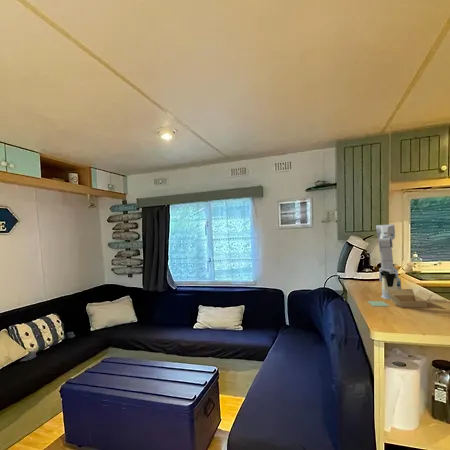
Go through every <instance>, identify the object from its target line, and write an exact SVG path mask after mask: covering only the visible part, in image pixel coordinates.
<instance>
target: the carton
mask: <svg viewBox="0 0 450 450" xmlns="http://www.w3.org/2000/svg"><path fill="white" fill-rule="evenodd" d="M384 291H385V290H384ZM386 292H387V291H386ZM414 292H415V291H414V290H413V288H401V289H397V290H389V292H387V293H388V294H389V295H390V296H391V299H390V302H391V303H393V304H394V305H396V306H398V307H399V308H428V303H427V302H428V301H429V300H430V298H431V297H433V294H432V293H428V292H426V291H423V290H421V289H418V291H417V292H416V293H414Z"/></svg>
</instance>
